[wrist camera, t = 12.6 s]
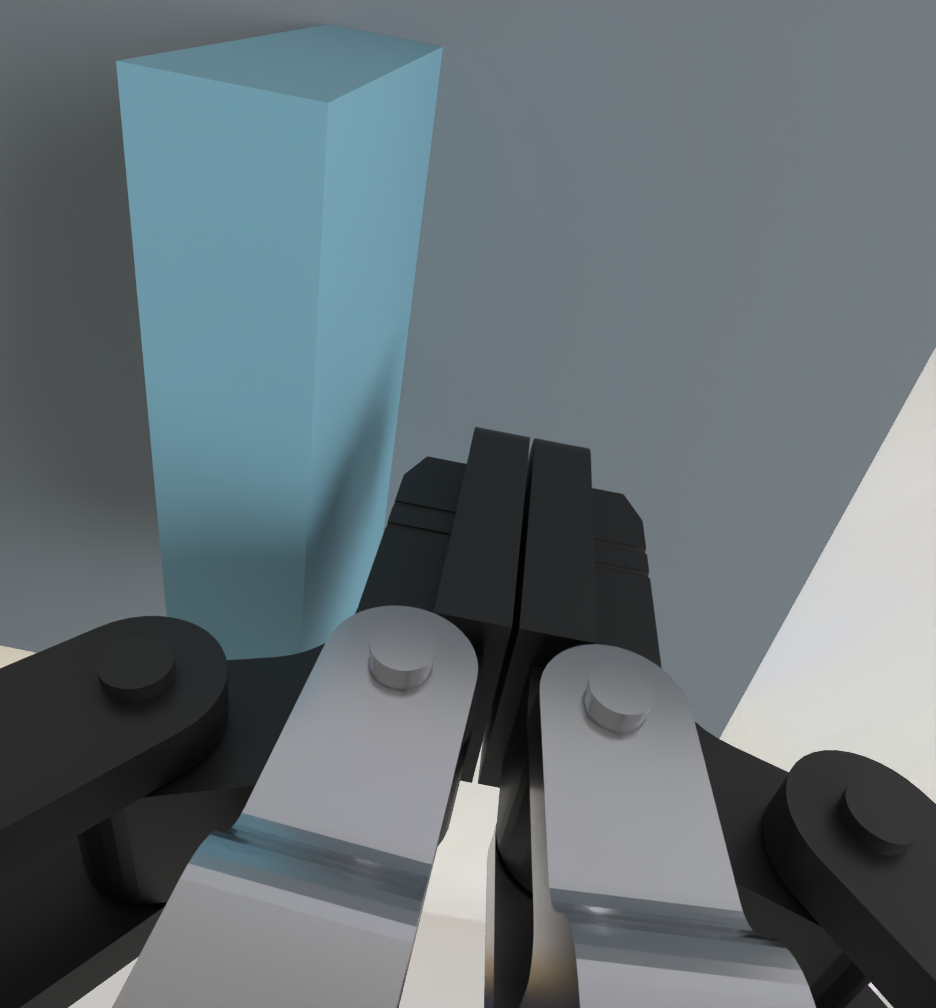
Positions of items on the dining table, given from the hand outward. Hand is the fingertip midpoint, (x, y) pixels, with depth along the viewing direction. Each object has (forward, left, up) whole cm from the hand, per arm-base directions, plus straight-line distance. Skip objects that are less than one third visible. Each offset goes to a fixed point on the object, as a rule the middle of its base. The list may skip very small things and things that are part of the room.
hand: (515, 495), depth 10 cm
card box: (0, -3, -4) cm, 5 cm away
